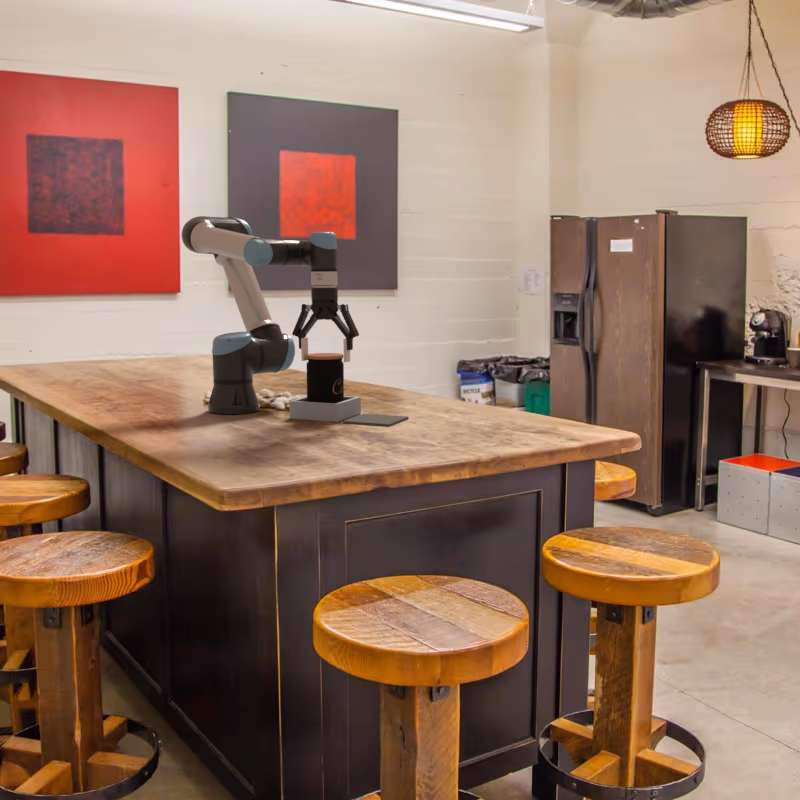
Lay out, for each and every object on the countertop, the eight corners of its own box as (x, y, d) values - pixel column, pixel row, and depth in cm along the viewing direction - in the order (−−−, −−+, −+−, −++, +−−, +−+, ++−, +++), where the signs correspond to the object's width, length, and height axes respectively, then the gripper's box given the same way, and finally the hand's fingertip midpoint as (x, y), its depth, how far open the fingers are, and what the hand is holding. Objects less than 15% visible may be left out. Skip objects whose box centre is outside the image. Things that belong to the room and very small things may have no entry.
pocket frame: (289, 418, 263) (289, 401, 263) (314, 410, 278) (314, 394, 277) (337, 421, 258) (337, 404, 257) (360, 413, 272) (360, 397, 271)
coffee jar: (338, 419, 261) (337, 356, 259) (302, 418, 263) (301, 356, 261) (348, 413, 272) (347, 353, 269) (313, 412, 274) (312, 352, 271)
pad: (343, 423, 256) (343, 421, 255) (364, 415, 268) (364, 413, 268) (389, 426, 250) (389, 424, 250) (408, 418, 263) (408, 416, 263)
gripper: (279, 287, 263) (281, 360, 266) (358, 287, 254) (359, 363, 257) (292, 286, 270) (294, 358, 273) (369, 286, 261) (370, 361, 264)
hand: (325, 361), depth 265 cm, fingers open, 13 cm apart
